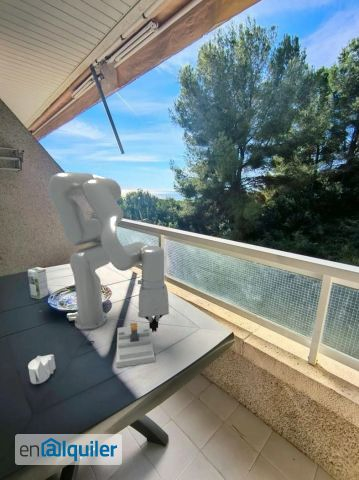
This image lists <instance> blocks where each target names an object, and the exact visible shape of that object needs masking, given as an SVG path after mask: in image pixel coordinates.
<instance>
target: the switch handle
mask: <svg viewBox="0 0 359 480" xmlns="http://www.w3.org/2000/svg"><path fill="white" fill-rule="evenodd" d="M130 326H131V334H130V342H134V341H139V334H137V326H138V323H137V322H132V323H130Z"/></svg>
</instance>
